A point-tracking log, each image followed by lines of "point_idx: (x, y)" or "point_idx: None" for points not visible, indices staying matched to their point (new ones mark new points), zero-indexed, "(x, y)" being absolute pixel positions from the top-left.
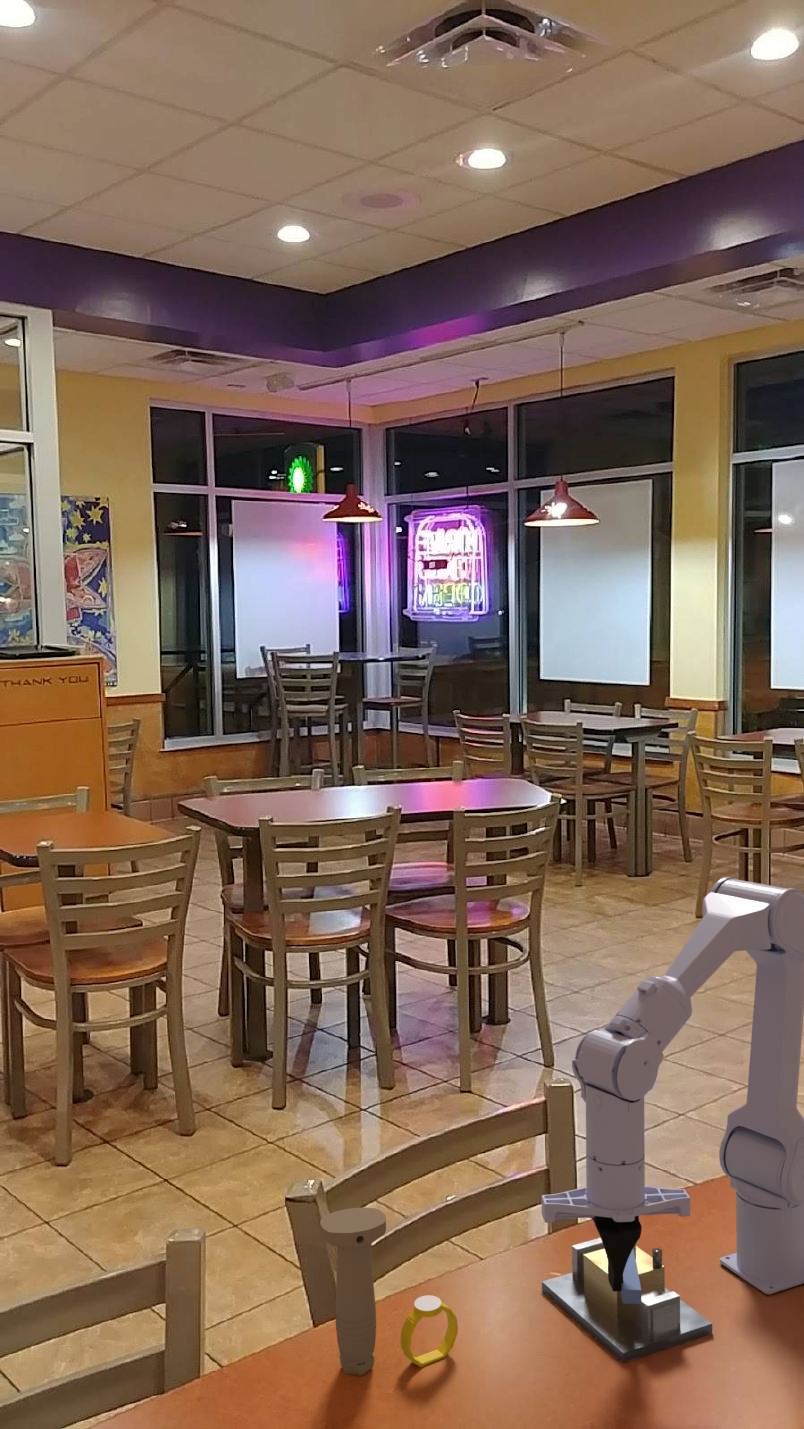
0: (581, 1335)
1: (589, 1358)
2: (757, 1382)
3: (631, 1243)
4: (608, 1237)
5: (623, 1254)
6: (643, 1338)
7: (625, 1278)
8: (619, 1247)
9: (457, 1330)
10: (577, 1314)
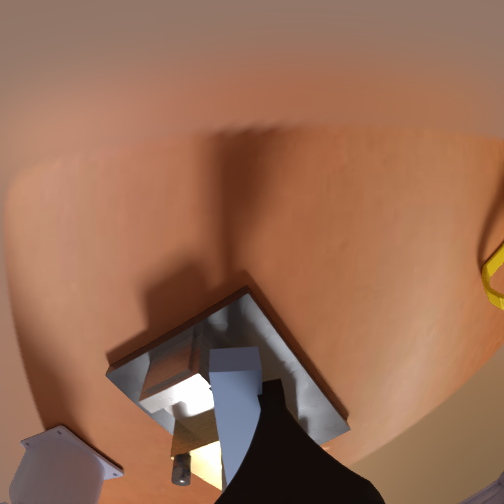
0: (309, 346)
1: (304, 291)
2: (41, 254)
3: (241, 488)
4: (347, 492)
5: (267, 454)
6: (210, 336)
7: (250, 409)
8: (286, 471)
9: (489, 290)
10: (314, 381)
